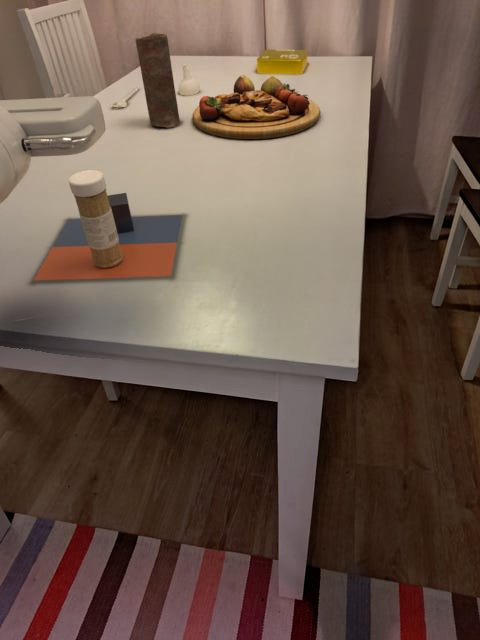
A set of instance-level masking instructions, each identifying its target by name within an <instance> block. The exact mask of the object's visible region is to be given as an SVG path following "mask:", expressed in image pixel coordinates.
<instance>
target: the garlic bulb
mask: <svg viewBox="0 0 480 640" xmlns="http://www.w3.org/2000/svg"><path fill="white" fill-rule="evenodd" d="M182 73H183V74H182V75H183V76H182V77H183V78H182V80H181V81H180V82H179V84H178V87H177V88H178V90H177V91H178V93H179V95H180V96H184V97H186V96H187V97H188V96H195V95H196V94H198V93H199V92H200V88H201V86H200V83H199V82H198V80H197V79H195V78H193V77H191V74H190V72H189V69H188V66H187V64H185V63H182Z"/></svg>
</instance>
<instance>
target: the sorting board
mask: <svg viewBox="0 0 480 640" xmlns="http://www.w3.org/2000/svg"><path fill="white" fill-rule="evenodd" d="M131 217H132V222H133V227H134V231H130V232H124V233H118V238H119V244H120V248H121V252H122V254H123V260H122V261H121V262H120V263H119V264H118V265H116V266H113V267H109V268H101V267H98V266H96V265H95V264H94V262H93V256H92V253H91V250H90V246H89V245H88V241H87V238H86V235H85V232H84V228H83V225H82V221H81V218H69V219H67V221H65V224H64V226H63V228H62V229H61V231H60V232H59V234H58V236H57V238H56V240H55V242H54V243H53V245H52V246H51V249H50V251H49V253H48V254H47V256H46V257H45V260H43V263H42V265H41V266H40V268H39V270H38V272H37V273H36V275H35V277H34V279H33V281H34V282H37V281H39V282H40V281H66V280H70V281H71V280H94V279H95V280H97V279H125V278H128V279H129V278H154V277H155V278H156V277H171V276H172V274H173V273H172V271H173V267H174V262H175V256H176V253H177V252H176V251H177V246H178V242H179V237H180V236H179V235H180V230H181V225H182V220H183V214H172V215H169V214H168V215H146V216H145V215H144V216H131Z"/></svg>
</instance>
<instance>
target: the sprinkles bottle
mask: <svg viewBox="0 0 480 640" xmlns="http://www.w3.org/2000/svg"><path fill="white" fill-rule="evenodd" d="M68 184H69V187H70V192H71V193H72V195H73V197H74V199H75V203H76V206H77V209H78V213H79V217H80V218H79V219H81V221H82V225H83V228H84V232H85V235H86V238H87V241H88V245H89V246H90V250H91V253H92V256H93V262H94V264H95V265H96V266H98V267H101V268H109V267H113V266H116V265H118V264H119V263H120V262H121V261H122V260H123V254H122V252H121V248H120V244H119V238H118V234H117V229H116V225H115V221H114V217H113V213H112V210H111V207H110V204H109V200H108V193H107V184H106V180H105V177H104V173H102V172H101V171H99V170H96V169H95V170H94V169H87V170H82V171H77V172H76V173H74V174H72V175H71V176H70V177H69V178H68Z"/></svg>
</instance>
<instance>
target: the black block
mask: <svg viewBox="0 0 480 640" xmlns="http://www.w3.org/2000/svg"><path fill="white" fill-rule="evenodd" d="M107 196H108V200H109V204H110V207H111V210H112V213H113V217H114V221H115V225H116V229H117V234H118V233H124V232H130V231H134V227H133V222H132V217H133V216H132V212H131V208H130V203H129V199H128V198H129V197H128V194H127V192H121V193H115V194H109V195H108V194H107Z"/></svg>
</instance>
